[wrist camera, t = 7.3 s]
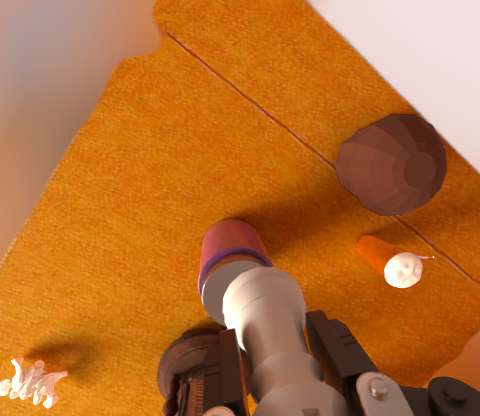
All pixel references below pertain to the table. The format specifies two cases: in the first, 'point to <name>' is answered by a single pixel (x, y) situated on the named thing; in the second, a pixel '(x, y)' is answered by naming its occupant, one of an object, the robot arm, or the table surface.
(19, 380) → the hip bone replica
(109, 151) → the table surface
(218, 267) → the jar lid
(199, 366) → the scroll
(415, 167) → the muffin
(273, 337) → the rook chess piece
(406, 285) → the milkshake
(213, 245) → the jar
